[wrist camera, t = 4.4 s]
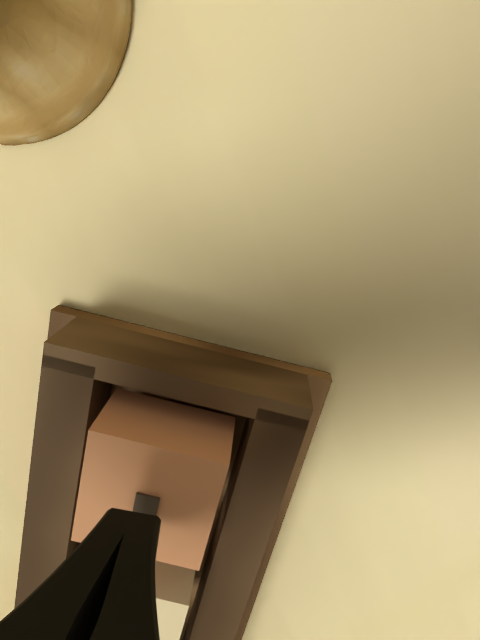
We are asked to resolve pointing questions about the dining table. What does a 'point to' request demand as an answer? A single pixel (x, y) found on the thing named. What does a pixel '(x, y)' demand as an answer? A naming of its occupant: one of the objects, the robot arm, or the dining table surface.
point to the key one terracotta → (156, 470)
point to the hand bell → (57, 63)
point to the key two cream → (172, 598)
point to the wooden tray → (188, 389)
